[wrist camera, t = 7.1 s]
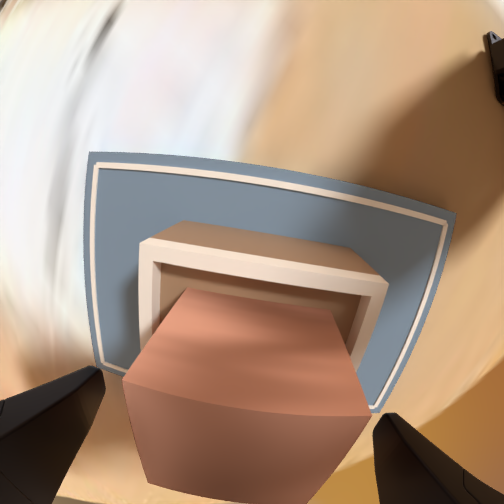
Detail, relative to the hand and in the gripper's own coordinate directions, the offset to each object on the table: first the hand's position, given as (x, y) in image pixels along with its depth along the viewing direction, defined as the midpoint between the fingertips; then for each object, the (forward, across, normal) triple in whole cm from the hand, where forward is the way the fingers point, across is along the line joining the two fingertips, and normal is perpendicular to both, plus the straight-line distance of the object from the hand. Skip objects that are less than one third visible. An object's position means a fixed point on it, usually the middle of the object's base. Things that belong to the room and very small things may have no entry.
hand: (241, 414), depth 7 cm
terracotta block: (+3, 0, 0) cm, 3 cm away
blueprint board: (+8, 0, 0) cm, 8 cm away
